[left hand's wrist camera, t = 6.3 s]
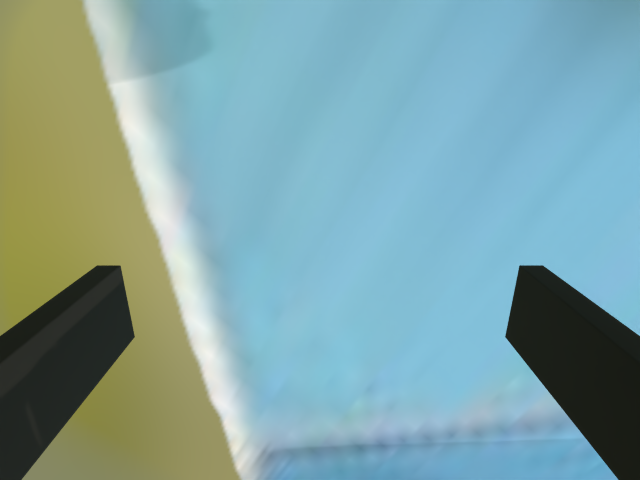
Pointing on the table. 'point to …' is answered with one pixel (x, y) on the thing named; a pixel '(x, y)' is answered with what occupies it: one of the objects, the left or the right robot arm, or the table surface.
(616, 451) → the left robot arm
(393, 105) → the table surface
